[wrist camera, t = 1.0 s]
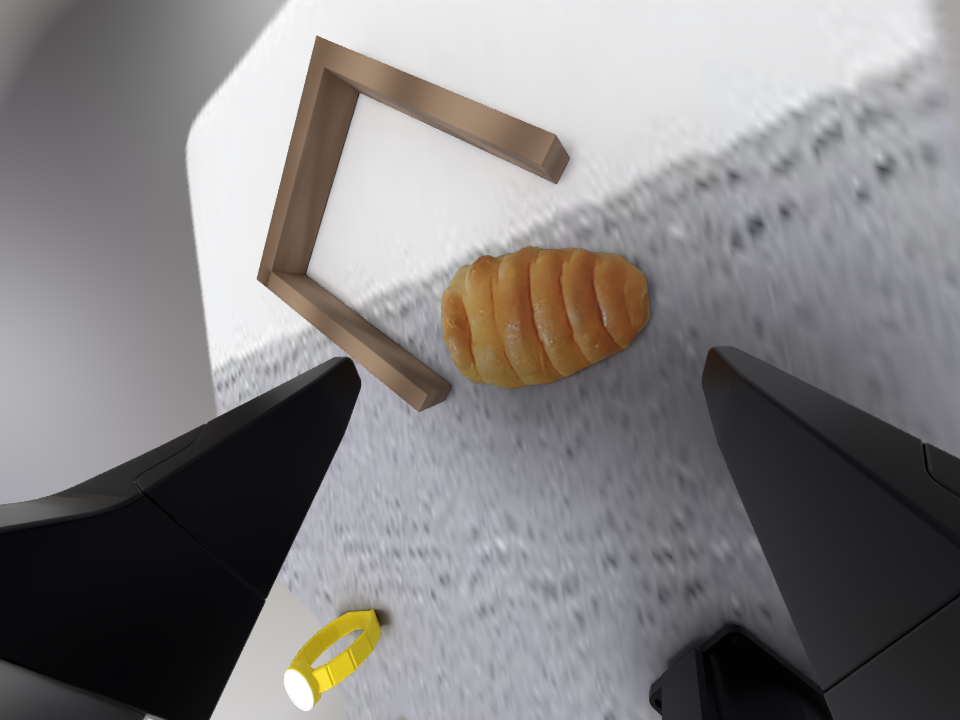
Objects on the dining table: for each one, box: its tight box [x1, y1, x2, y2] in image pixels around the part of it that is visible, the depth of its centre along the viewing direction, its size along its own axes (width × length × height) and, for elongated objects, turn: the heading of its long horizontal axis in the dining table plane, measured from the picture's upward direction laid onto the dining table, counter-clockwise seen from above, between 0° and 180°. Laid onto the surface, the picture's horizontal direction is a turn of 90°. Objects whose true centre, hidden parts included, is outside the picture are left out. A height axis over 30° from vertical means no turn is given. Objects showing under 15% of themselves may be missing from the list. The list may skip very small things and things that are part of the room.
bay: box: [257, 36, 570, 412], centre depth 20 cm, size 15×14×2 cm
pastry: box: [441, 246, 650, 389], centre depth 16 cm, size 9×7×4 cm
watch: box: [284, 609, 381, 711], centre depth 25 cm, size 6×3×6 cm, turn 118°
